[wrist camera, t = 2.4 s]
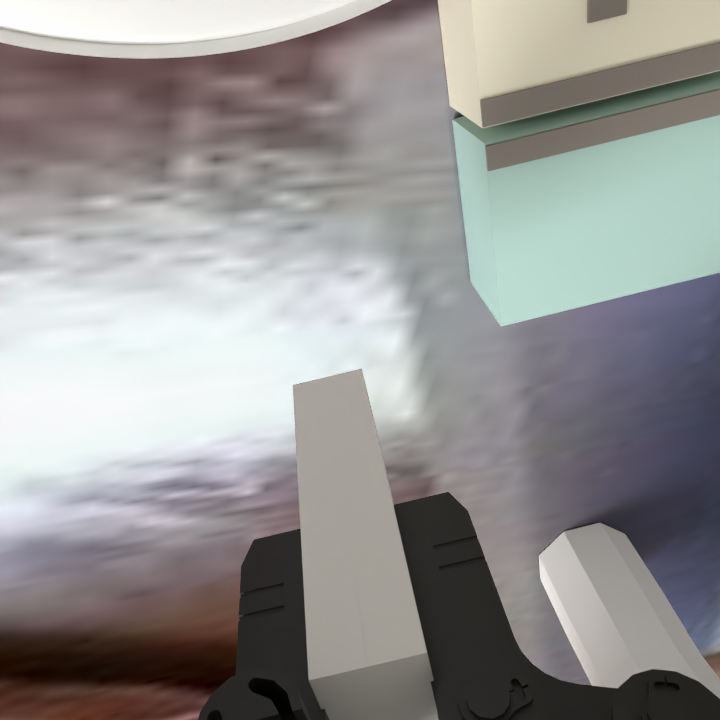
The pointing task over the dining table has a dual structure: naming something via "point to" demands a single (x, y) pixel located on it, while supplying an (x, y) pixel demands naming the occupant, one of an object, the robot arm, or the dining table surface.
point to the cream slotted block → (569, 51)
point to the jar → (166, 24)
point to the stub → (592, 199)
